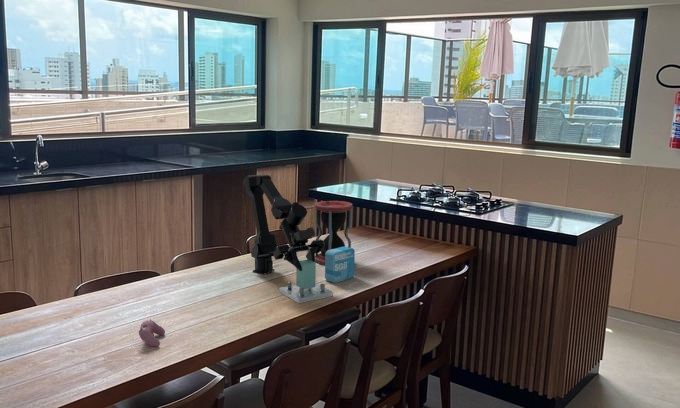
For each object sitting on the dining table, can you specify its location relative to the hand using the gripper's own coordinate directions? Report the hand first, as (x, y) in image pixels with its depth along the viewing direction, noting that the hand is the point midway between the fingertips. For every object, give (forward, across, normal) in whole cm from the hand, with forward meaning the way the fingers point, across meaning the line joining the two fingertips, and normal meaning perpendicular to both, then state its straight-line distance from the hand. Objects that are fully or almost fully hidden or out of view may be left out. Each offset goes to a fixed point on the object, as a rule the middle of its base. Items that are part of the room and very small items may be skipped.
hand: (307, 269), depth 215 cm
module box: (+4, 0, +6) cm, 7 cm away
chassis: (+6, 0, +8) cm, 10 cm away
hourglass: (-16, +33, +30) cm, 47 cm away
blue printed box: (0, +20, +14) cm, 25 cm away
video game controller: (+15, -59, -1) cm, 61 cm away
